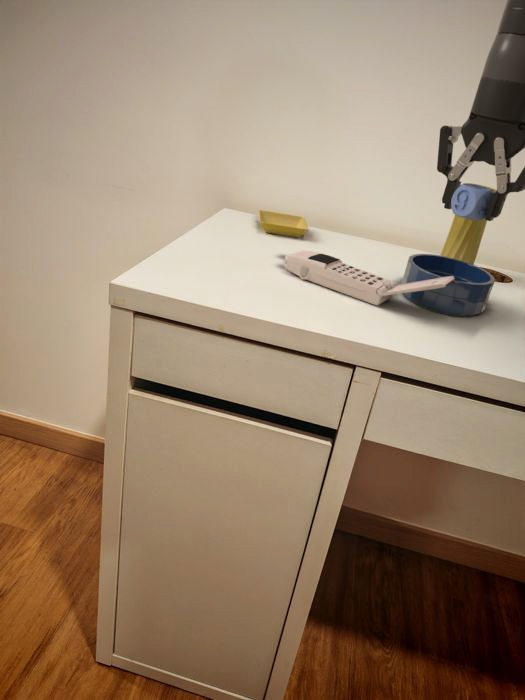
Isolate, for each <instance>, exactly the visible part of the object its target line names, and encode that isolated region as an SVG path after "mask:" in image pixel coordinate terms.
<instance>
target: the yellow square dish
mask: <svg viewBox="0 0 525 700" xmlns="http://www.w3.org/2000/svg"><path fill="white" fill-rule="evenodd" d="M258 222H259V225H260V227H261V229H262V230H263V232H265V233H267V234H275V235H279V236H285V237H286V236H287V237H293V238H299V237H302V236H303V235H305V234H306V232H308V230H309V228H308V225H307V222H306V218H305V217H304V216H300V215H294V214H289V213H280V212H275V211H268V210H262V209H259V210H258Z"/></svg>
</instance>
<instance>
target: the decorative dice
mask: <svg viewBox="0 0 525 700" xmlns="http://www.w3.org/2000/svg"><path fill="white" fill-rule="evenodd" d="M467 183H468V182H466V183H461V185H460V186H459V187H458V188H457V189H456V190H455V192H454V194H453V196H452V199H451V208H452V209H451V211H452V213H453V215H454V216H455V215H457V216H459V217H462V218H466V219H470V220H482V219H484V218H485V217H486V214H487V211H488V208H489V205H490V202H491V199H492V196H493V192H492V190H491V189H488V188H486V187H482V186H478V185H479V184H478V185H473V184H474V183H472V184H467Z"/></svg>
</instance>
